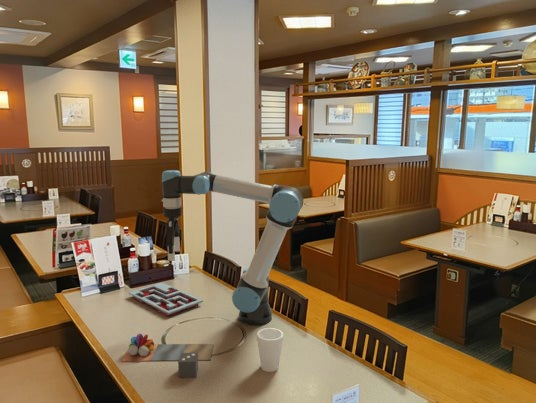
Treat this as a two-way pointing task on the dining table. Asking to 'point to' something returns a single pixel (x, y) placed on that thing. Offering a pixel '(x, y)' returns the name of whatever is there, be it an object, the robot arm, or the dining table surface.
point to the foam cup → (270, 348)
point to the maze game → (165, 298)
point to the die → (188, 365)
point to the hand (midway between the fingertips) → (174, 255)
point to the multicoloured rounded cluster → (141, 345)
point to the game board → (172, 352)
